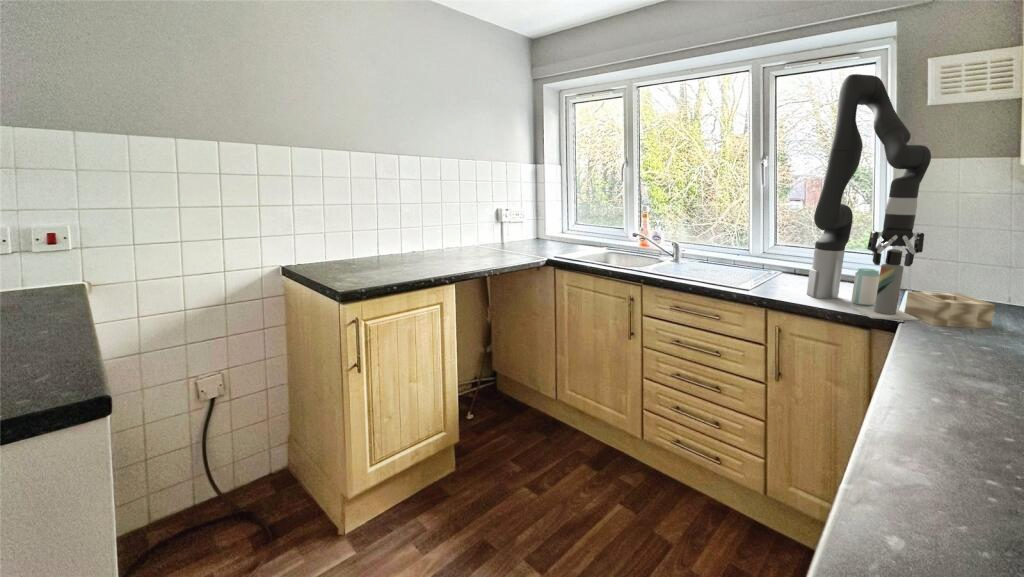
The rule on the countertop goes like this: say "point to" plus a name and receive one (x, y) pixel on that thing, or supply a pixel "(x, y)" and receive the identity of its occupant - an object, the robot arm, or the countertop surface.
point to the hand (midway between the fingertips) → (891, 265)
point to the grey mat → (872, 314)
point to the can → (865, 287)
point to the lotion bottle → (889, 283)
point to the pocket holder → (949, 309)
